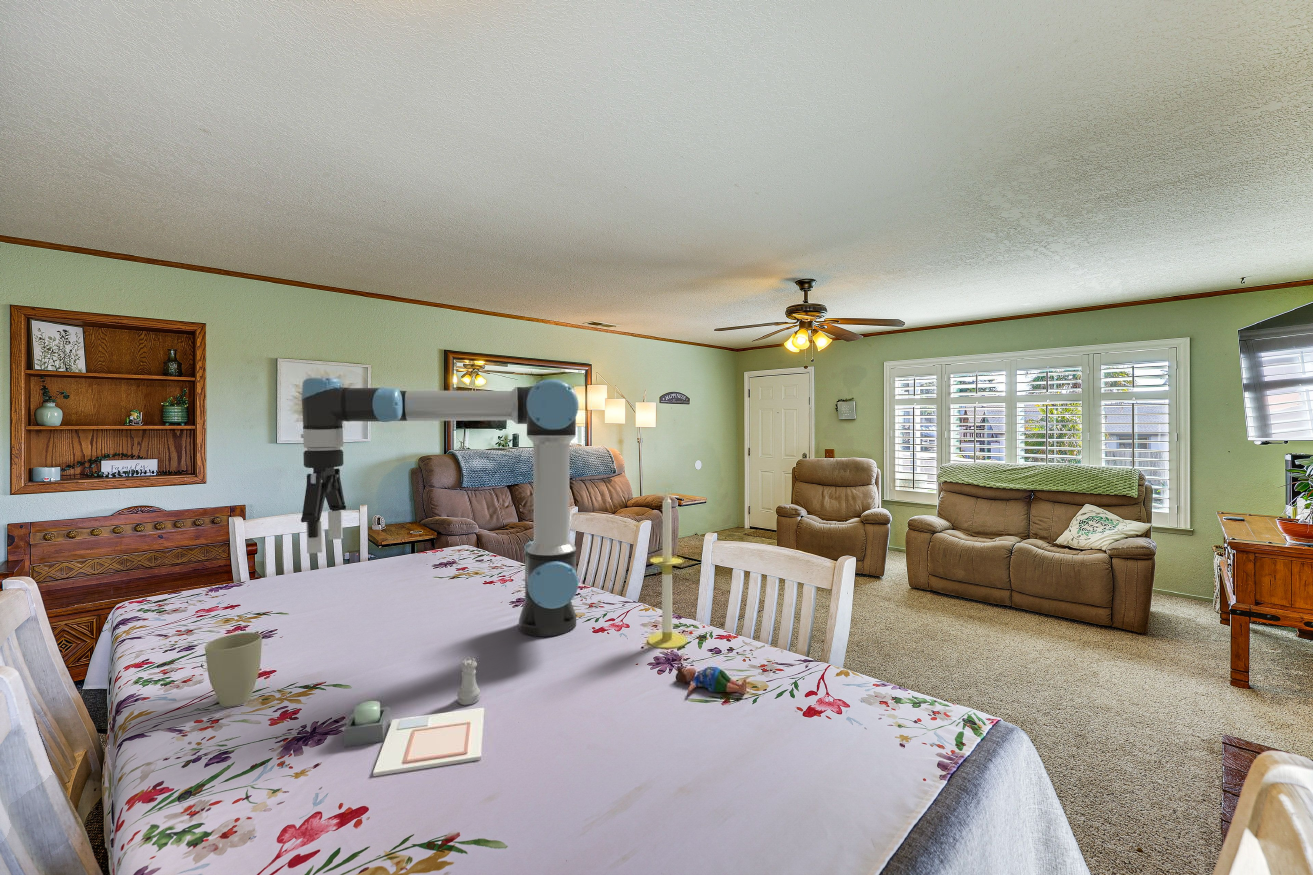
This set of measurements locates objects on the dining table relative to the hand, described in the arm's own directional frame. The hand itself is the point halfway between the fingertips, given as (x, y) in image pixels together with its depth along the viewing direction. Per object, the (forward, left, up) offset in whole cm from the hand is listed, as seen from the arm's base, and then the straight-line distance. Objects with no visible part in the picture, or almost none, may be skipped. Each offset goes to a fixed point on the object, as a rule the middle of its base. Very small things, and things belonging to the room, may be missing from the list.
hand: (325, 545), depth 124 cm
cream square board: (-26, +35, -28) cm, 52 cm away
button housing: (-14, +30, -28) cm, 44 cm away
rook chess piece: (-31, +22, -28) cm, 47 cm away
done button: (-14, +30, -26) cm, 43 cm away
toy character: (-78, +30, -28) cm, 89 cm away
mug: (+14, +9, -28) cm, 33 cm away
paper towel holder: (-77, +4, -28) cm, 82 cm away
